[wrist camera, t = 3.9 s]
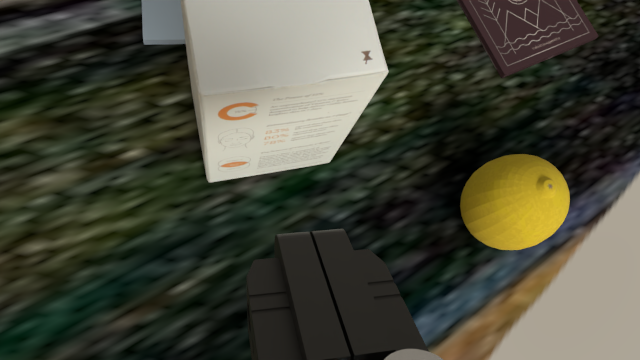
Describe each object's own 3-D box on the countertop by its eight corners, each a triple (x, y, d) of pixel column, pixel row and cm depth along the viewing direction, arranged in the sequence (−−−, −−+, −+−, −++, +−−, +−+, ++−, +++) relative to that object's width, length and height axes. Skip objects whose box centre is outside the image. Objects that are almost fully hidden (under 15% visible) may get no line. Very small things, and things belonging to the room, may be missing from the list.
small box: (310, 75, 36) (359, -56, 24) (331, 164, 35) (394, 74, 23) (188, 90, 35) (173, -43, 22) (205, 184, 33) (198, 99, 21)
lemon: (424, 206, 35) (481, 172, 28) (483, 161, 37) (552, 117, 29) (477, 275, 35) (549, 259, 27) (534, 226, 36) (617, 199, 29)
